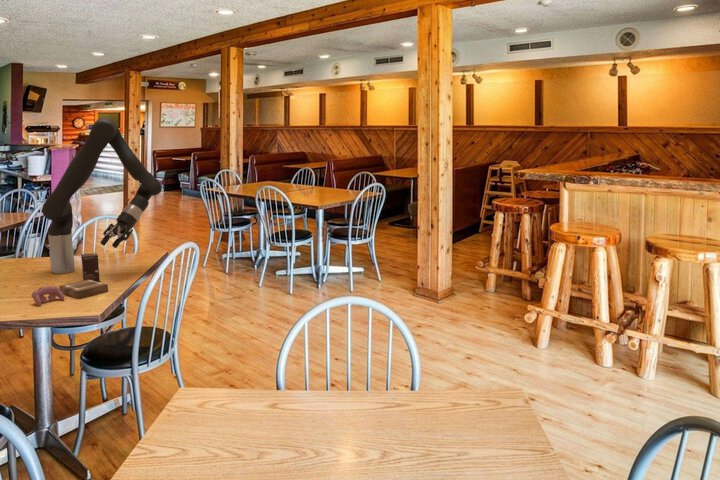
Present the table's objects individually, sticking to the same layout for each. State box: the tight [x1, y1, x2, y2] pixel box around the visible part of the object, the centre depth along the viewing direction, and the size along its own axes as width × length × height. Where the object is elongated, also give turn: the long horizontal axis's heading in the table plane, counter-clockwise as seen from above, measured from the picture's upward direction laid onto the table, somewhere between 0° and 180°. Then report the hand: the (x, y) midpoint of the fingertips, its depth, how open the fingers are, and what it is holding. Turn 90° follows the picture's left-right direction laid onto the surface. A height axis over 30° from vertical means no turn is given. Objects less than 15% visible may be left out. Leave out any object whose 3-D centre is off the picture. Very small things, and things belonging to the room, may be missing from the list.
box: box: [80, 252, 101, 282], centre depth 225 cm, size 6×4×12 cm
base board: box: [59, 279, 109, 300], centre depth 211 cm, size 13×12×3 cm
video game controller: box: [31, 285, 65, 307], centre depth 199 cm, size 10×5×7 cm, turn 146°
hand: (107, 245), depth 230 cm, fingers open, 8 cm apart
